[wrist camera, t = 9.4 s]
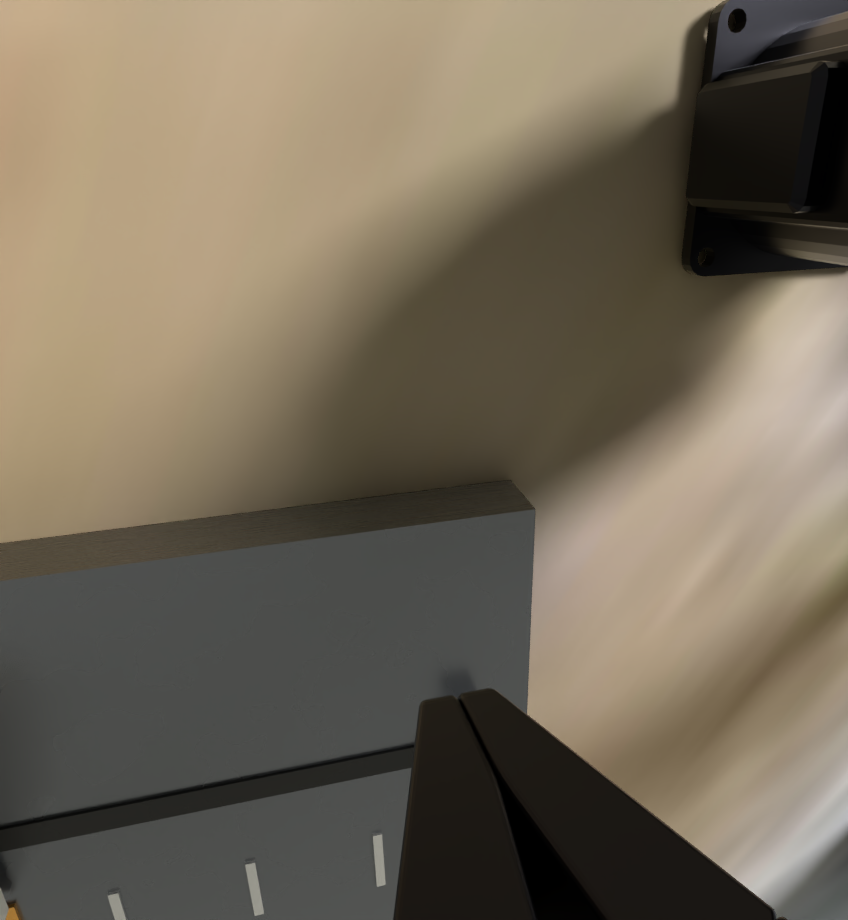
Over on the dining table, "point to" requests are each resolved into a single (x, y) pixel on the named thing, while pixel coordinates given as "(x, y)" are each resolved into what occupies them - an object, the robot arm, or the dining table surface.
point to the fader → (3, 907)
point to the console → (243, 700)
